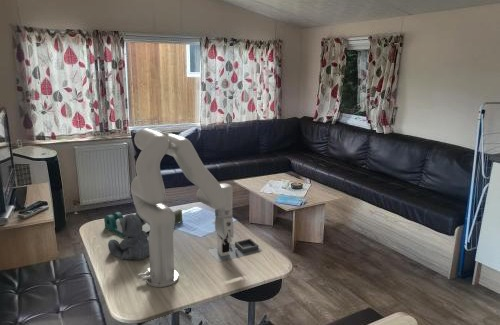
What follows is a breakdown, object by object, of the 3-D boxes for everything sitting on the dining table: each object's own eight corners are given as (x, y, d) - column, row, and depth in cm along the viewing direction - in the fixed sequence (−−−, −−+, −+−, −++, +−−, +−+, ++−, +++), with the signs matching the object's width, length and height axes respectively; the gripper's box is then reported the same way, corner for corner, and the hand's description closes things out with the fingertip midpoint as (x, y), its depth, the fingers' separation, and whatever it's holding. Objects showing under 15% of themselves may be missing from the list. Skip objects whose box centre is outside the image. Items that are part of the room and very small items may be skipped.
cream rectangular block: (221, 256, 173) (221, 239, 171) (217, 252, 177) (217, 236, 174) (229, 254, 175) (229, 238, 173) (225, 250, 178) (225, 234, 176)
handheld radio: (183, 221, 211) (146, 237, 191) (179, 220, 213) (141, 236, 193) (182, 210, 209) (145, 225, 190) (178, 208, 211) (140, 223, 192)
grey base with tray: (218, 264, 169) (219, 256, 168) (207, 252, 179) (207, 245, 178) (262, 252, 179) (262, 246, 178) (249, 242, 189) (249, 235, 188)
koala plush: (140, 240, 188) (138, 202, 183) (161, 253, 176) (160, 213, 171) (106, 252, 176) (103, 212, 171) (127, 267, 164) (124, 225, 159)
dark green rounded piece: (105, 228, 200) (103, 214, 198) (116, 224, 205) (115, 210, 203) (126, 238, 190) (125, 223, 188) (137, 234, 195) (137, 219, 193)
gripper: (240, 217, 165) (239, 255, 170) (223, 203, 179) (222, 240, 184) (224, 220, 162) (224, 259, 167) (208, 206, 176) (208, 243, 181)
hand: (223, 249), depth 175 cm, fingers closed on cream rectangular block, 4 cm apart
